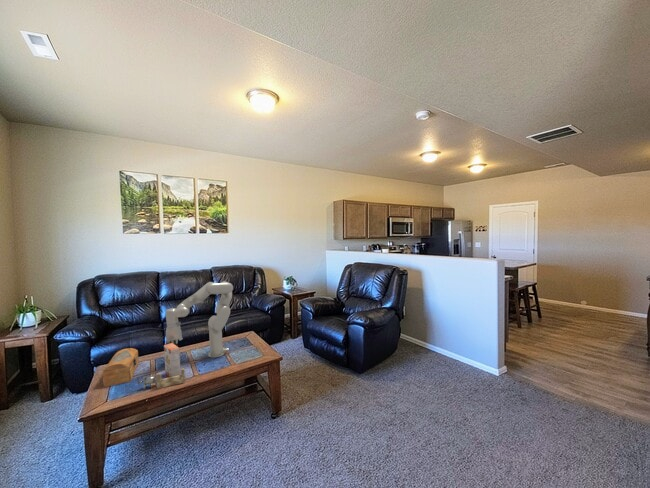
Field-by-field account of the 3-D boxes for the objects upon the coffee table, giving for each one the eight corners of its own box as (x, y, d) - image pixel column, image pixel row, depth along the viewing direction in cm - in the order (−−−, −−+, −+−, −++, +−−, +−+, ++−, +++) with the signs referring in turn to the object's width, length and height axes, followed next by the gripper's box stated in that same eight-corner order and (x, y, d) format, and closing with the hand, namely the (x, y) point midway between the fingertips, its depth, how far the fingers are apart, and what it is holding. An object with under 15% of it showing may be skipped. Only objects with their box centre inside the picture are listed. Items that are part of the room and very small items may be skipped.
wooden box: (132, 381, 187) (131, 361, 186) (102, 387, 180) (100, 366, 180) (141, 363, 214) (140, 345, 214) (115, 368, 207) (114, 349, 207)
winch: (158, 383, 183) (157, 371, 183) (157, 386, 179) (156, 374, 179) (138, 388, 178) (138, 375, 178) (137, 391, 174) (136, 378, 174)
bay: (185, 375, 192) (184, 363, 192) (184, 382, 184) (184, 369, 183) (159, 381, 186) (158, 368, 185) (157, 388, 177) (156, 375, 177)
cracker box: (164, 374, 196) (163, 344, 195) (174, 370, 200) (172, 342, 200) (171, 380, 186) (170, 350, 186) (181, 377, 191) (179, 347, 190)
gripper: (184, 321, 214) (186, 344, 215) (161, 325, 207) (164, 349, 209) (183, 324, 207) (186, 348, 208) (160, 328, 201) (163, 353, 202)
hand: (175, 348), depth 208 cm, fingers closed
